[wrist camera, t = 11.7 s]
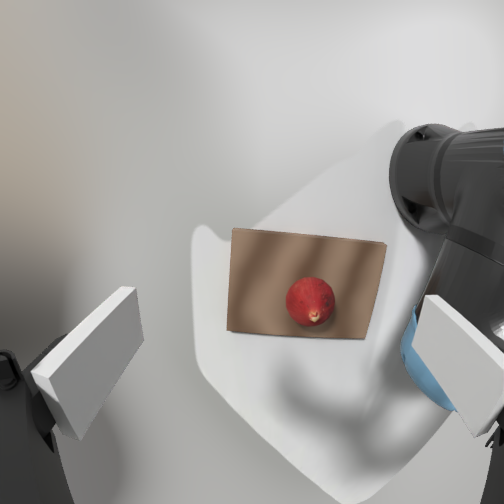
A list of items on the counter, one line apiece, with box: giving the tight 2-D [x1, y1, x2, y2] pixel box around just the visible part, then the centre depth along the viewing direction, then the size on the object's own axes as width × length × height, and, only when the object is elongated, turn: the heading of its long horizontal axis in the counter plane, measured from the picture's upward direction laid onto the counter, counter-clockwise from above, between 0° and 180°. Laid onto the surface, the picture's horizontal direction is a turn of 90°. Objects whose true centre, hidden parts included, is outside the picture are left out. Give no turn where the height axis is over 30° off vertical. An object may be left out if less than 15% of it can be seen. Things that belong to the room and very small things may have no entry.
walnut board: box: [227, 228, 387, 338], centre depth 38 cm, size 20×14×2 cm
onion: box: [286, 277, 335, 327], centre depth 33 cm, size 6×6×8 cm
